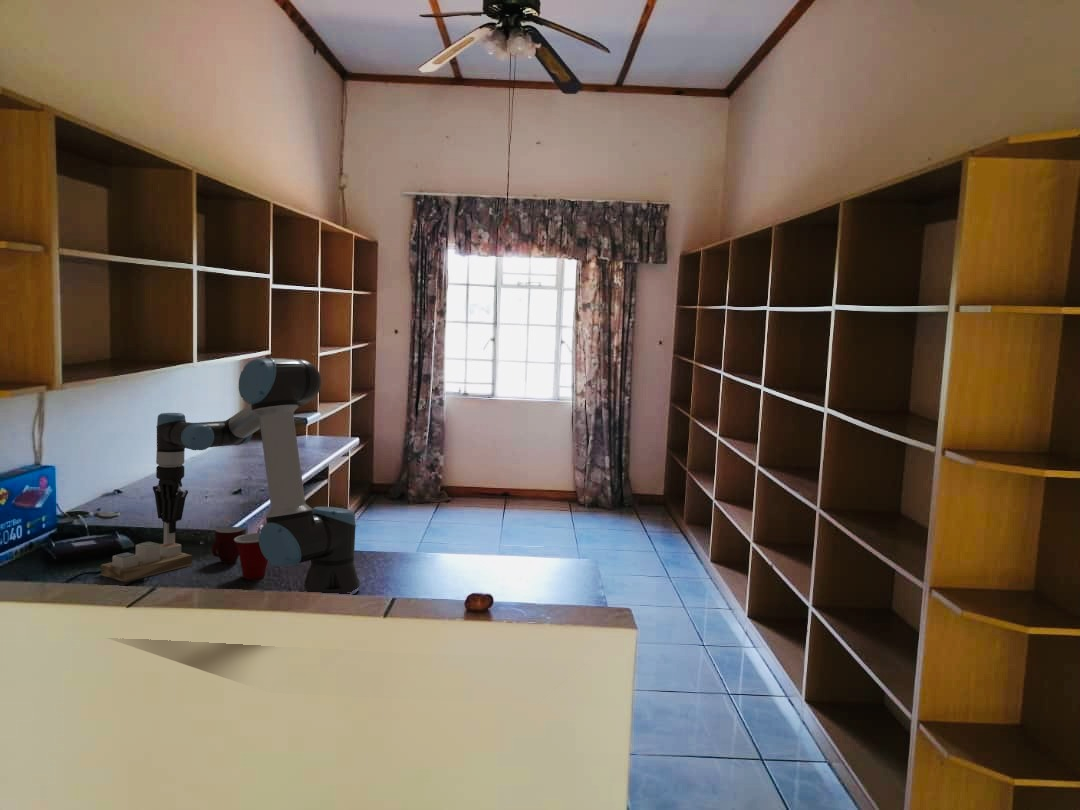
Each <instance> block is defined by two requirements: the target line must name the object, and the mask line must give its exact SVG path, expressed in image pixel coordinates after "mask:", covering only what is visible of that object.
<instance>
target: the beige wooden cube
mask: <svg viewBox="0 0 1080 810" xmlns="http://www.w3.org/2000/svg"><path fill="white" fill-rule="evenodd" d="M160 545H161V543H157V542H154V541H153V542H152V541H145V542H141V543H138V544H135V555H138V562H141V563H145V564H146V563H150V562H154V561H158V560H160Z"/></svg>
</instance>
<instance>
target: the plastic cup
mask: <svg viewBox="0 0 1080 810" xmlns="http://www.w3.org/2000/svg"><path fill="white" fill-rule="evenodd" d="M260 533H261V532H252V533H246V534H243V535H241V536H238V537H236V538H235V539H234V541H235V542H236V544H237V547H238V550H239V561H240V566H241V572H242V576H243V578H244V579H246V580H257V579H262V578H264V577H265V575H266V571H267V566H268V563H269V561H268V560H267V559H266V558H265V557H264V555H263V553H262V551H261V549H260V545H259V534H260Z"/></svg>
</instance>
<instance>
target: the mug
mask: <svg viewBox="0 0 1080 810" xmlns="http://www.w3.org/2000/svg"><path fill="white" fill-rule="evenodd" d="M214 530H215V531H214V532H215V533H214V539H215V541H214V543H213V544H212V548H211V552H212V555H213V556H214V557H216V558H219V560H220V561H221V563H222V564H234V563H236V562H237V560H238V559H239V558H240V556H239V550H238V547H237V544H236V542H235V541H234V539H235V538H236V537H238V536H241V535H245V534H244V528H243V527H240V526H222V527H219V528H216V529H214Z"/></svg>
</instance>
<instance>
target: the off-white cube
mask: <svg viewBox="0 0 1080 810" xmlns="http://www.w3.org/2000/svg"><path fill="white" fill-rule="evenodd" d="M111 559H112V567H116V568H120V569H125V568H129V567H133V566H137V565H138V555H136V553H131V552H123V553H119V554H115V555H112V558H111Z"/></svg>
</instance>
